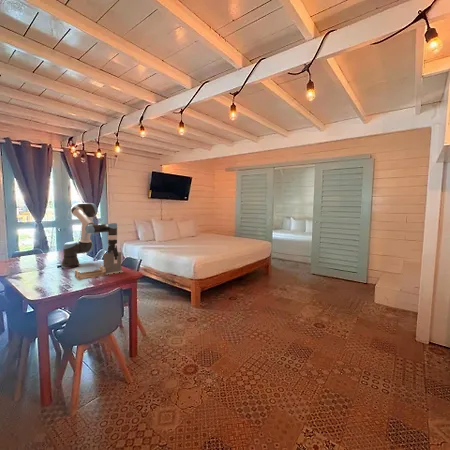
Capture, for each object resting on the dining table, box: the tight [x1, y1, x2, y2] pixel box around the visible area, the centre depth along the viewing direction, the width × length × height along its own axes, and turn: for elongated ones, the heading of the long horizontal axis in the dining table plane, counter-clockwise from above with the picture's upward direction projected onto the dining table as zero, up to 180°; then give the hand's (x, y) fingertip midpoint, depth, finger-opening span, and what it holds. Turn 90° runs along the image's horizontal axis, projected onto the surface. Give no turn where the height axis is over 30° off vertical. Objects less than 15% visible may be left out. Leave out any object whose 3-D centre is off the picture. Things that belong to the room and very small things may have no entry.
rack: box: [74, 265, 106, 280], centre depth 212 cm, size 10×22×6 cm, turn 135°
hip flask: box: [103, 250, 122, 273], centre depth 225 cm, size 16×4×20 cm, turn 136°
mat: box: [106, 269, 124, 275], centre depth 225 cm, size 12×15×1 cm
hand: (112, 261), depth 225 cm, fingers open, 13 cm apart
